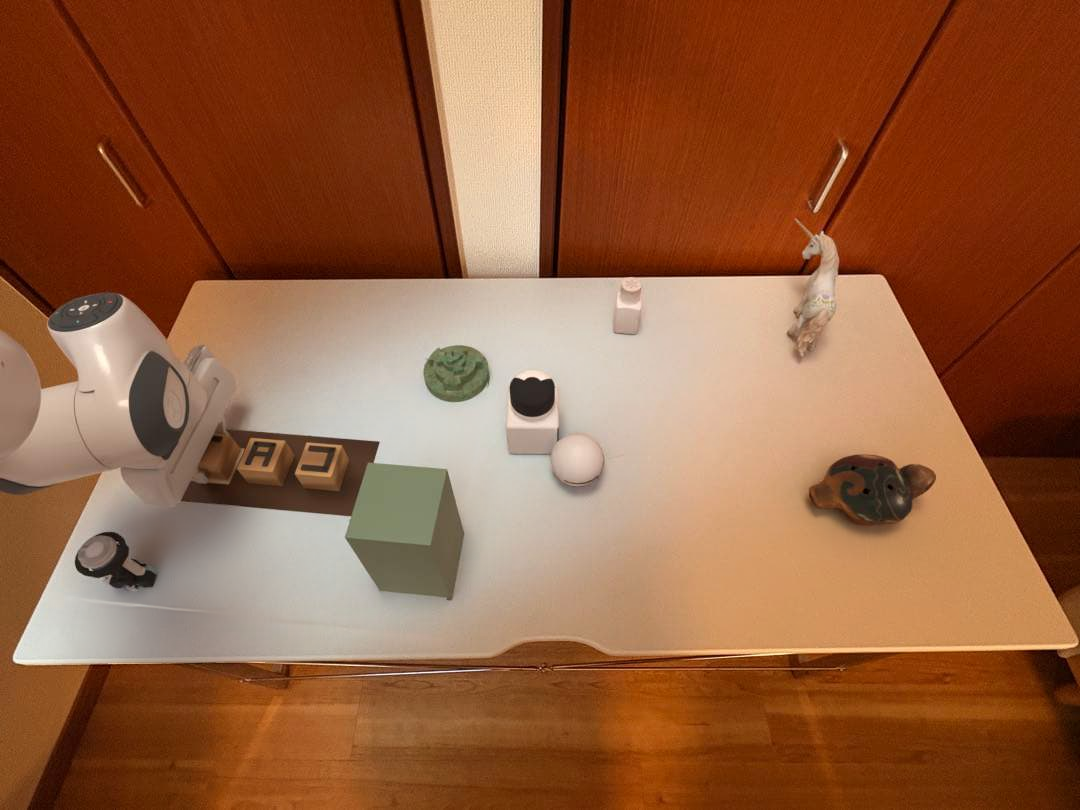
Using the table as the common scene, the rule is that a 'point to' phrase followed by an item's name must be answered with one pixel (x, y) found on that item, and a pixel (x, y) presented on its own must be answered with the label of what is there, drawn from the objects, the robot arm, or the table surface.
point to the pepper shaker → (628, 306)
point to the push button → (113, 562)
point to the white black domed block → (532, 413)
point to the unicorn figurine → (817, 291)
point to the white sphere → (577, 459)
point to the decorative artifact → (456, 373)
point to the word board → (288, 479)
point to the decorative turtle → (871, 488)
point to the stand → (407, 529)
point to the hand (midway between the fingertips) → (213, 459)
